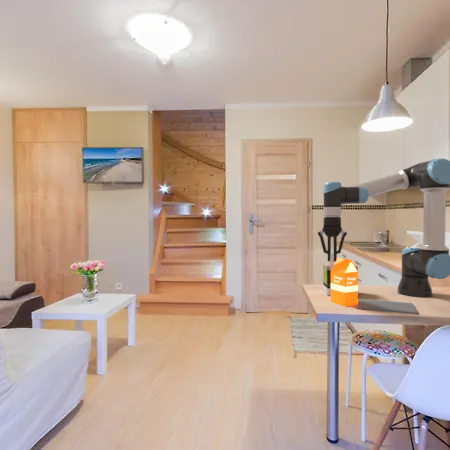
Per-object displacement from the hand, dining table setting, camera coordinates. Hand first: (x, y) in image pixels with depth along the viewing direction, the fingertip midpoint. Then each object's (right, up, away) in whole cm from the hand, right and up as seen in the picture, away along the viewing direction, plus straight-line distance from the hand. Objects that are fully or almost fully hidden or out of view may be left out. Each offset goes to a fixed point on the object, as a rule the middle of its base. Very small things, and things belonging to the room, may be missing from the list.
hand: (332, 268), depth 153 cm
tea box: (+9, -15, +17) cm, 25 cm away
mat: (+21, -15, -8) cm, 27 cm away
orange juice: (+5, -16, -2) cm, 16 cm away
